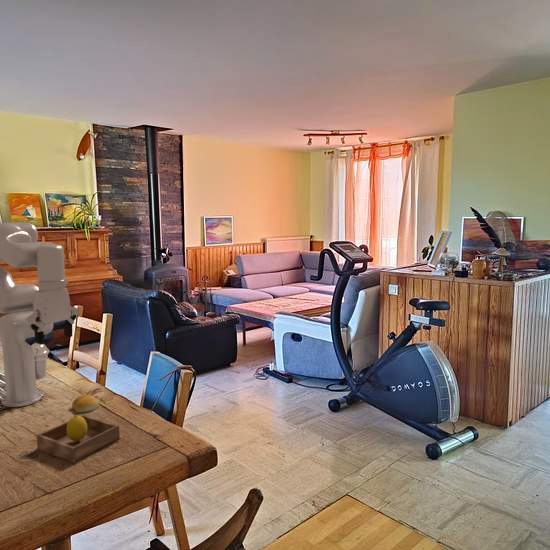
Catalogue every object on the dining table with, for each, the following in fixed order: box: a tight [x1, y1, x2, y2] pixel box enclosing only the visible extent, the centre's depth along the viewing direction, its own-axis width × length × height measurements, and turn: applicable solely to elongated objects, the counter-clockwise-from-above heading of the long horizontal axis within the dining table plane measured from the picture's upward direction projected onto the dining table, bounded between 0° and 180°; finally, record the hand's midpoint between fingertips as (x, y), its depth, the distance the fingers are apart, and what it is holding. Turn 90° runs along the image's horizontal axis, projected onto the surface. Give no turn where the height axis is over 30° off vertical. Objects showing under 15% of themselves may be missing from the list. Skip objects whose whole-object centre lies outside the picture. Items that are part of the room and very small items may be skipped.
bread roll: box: [71, 394, 100, 413], centre depth 163 cm, size 8×9×4 cm
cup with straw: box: [30, 342, 50, 379], centre depth 193 cm, size 8×9×20 cm
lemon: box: [66, 414, 87, 442], centre depth 137 cm, size 6×6×8 cm
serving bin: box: [36, 414, 121, 464], centre depth 137 cm, size 16×16×4 cm
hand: (54, 339), depth 148 cm, fingers open, 9 cm apart
